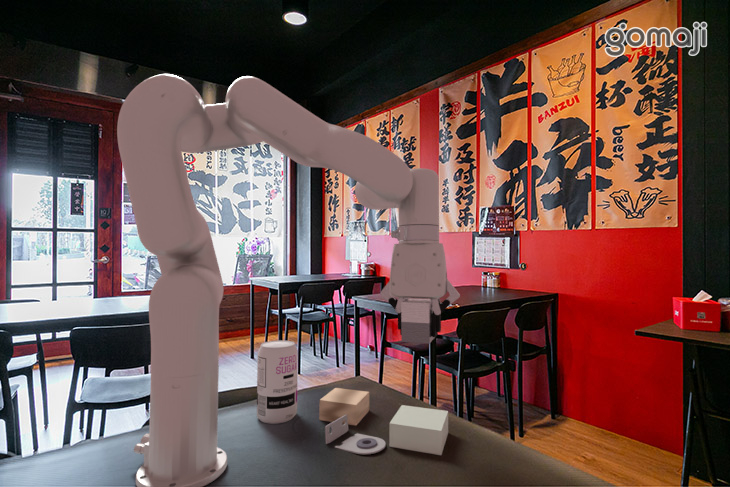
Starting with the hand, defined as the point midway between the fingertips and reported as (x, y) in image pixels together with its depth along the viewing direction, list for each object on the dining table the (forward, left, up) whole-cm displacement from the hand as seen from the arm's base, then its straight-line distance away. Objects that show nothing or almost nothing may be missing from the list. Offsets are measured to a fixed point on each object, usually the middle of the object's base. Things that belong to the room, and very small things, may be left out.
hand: (419, 333), depth 71 cm
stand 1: (-17, +5, -19) cm, 26 cm away
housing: (0, 0, -1) cm, 1 cm away
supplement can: (-30, 0, -19) cm, 36 cm away
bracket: (-10, -5, -20) cm, 23 cm away
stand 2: (0, 0, -19) cm, 19 cm away
